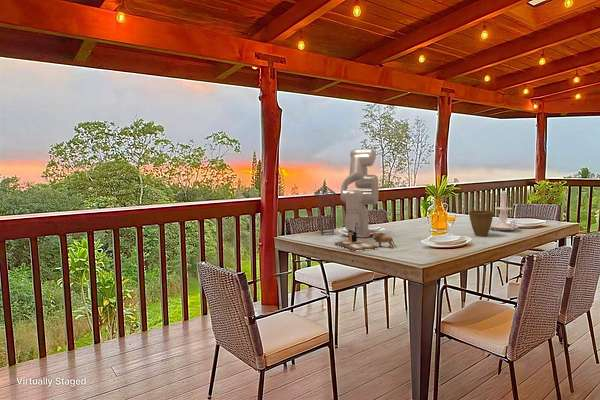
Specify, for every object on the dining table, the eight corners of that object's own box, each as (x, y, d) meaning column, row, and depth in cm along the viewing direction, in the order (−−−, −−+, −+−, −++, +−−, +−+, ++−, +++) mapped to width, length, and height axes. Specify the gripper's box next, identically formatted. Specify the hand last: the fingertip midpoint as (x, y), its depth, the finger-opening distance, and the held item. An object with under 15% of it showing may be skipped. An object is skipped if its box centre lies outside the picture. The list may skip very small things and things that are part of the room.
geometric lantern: (338, 235, 287) (336, 186, 283) (316, 236, 288) (313, 187, 284) (337, 231, 303) (334, 184, 299) (316, 232, 303) (313, 185, 299)
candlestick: (500, 234, 274) (501, 192, 271) (481, 228, 298) (482, 190, 295) (529, 232, 275) (530, 191, 272) (508, 226, 300) (509, 189, 297)
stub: (358, 241, 256) (358, 230, 256) (363, 242, 252) (362, 231, 251) (342, 243, 252) (341, 232, 251) (346, 244, 247) (345, 233, 246)
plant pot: (488, 233, 278) (488, 210, 276) (496, 237, 263) (497, 213, 262) (465, 233, 280) (466, 210, 278) (472, 237, 265) (473, 213, 263)
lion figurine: (371, 247, 246) (371, 232, 245) (373, 245, 251) (373, 231, 250) (396, 248, 240) (396, 233, 239) (397, 246, 245) (397, 232, 244)
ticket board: (356, 241, 263) (356, 238, 263) (377, 249, 241) (377, 245, 241) (334, 244, 257) (334, 241, 256) (354, 252, 235) (354, 248, 234)
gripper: (340, 210, 256) (340, 239, 258) (353, 213, 241) (354, 243, 243) (350, 209, 259) (351, 238, 261) (364, 212, 244) (364, 242, 246)
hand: (352, 240), depth 252 cm, fingers closed on stub, 3 cm apart
